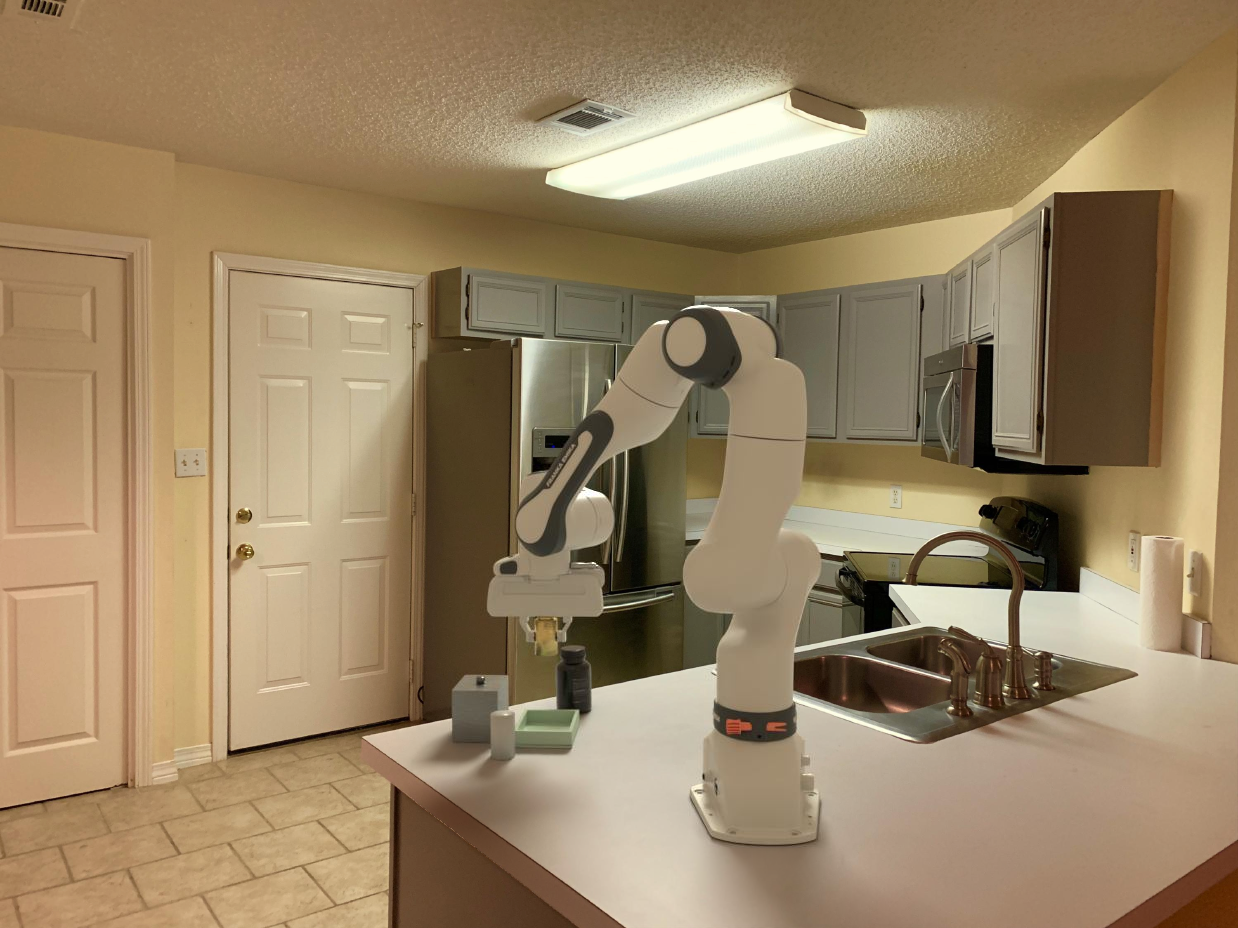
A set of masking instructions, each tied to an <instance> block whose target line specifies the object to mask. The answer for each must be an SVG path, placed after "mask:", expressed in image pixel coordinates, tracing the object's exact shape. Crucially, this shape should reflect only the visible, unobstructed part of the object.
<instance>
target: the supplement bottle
mask: <svg viewBox="0 0 1238 928" xmlns="http://www.w3.org/2000/svg"><path fill="white" fill-rule="evenodd" d="M559 652H560V654H559V659H561V660H560V661H558V663H556V665H555V691H556V692H555V697H556V698H555V699H556V709H557V710H579V715H580V714H584V713H587V712H589V711H591V709H592V705H593V701H592V699H593V697H592V696H593V695H592V667H591V663H590V662H589V661H587V660H586V647H585V646H583V645H573V644H572V645H565V646H562V647H561V648H560V651H559Z"/></svg>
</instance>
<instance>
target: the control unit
mask: <svg viewBox="0 0 1238 928" xmlns="http://www.w3.org/2000/svg"><path fill="white" fill-rule="evenodd" d="M509 699H510V697H509V674H505V675H504V674H465V675H464V676H462V678H461V679H460V680H459V681H458V682H457V684H456V685H454V687H453V688H452V689H451V738H452V743H482V744H483V743H485V744H487V743H489V744H491V713H492V712H495V711H500V710H509V701H510V700H509ZM509 711H510V710H509Z"/></svg>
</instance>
